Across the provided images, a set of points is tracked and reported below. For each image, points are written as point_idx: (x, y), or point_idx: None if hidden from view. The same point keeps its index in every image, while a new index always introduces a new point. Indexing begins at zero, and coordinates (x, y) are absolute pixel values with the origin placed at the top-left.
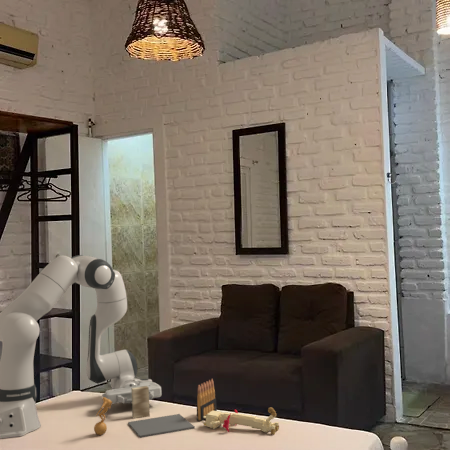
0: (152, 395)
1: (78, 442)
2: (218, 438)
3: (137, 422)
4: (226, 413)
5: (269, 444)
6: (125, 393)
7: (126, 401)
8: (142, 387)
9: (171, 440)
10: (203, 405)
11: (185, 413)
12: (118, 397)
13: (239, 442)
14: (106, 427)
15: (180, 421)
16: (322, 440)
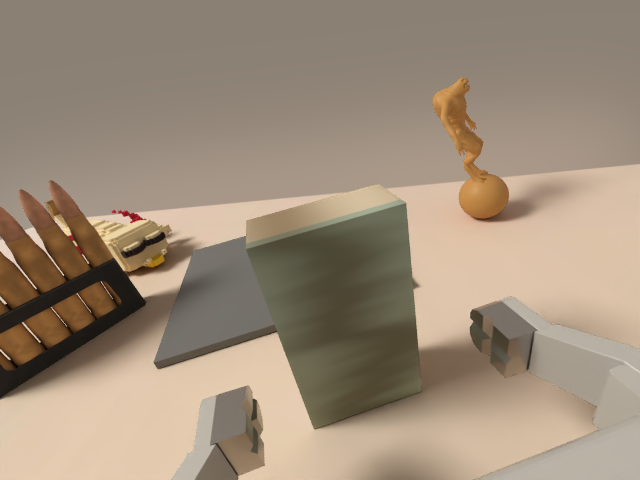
0: (214, 400)
1: (520, 184)
2: (187, 222)
3: None
4: (109, 223)
5: (138, 213)
6: (595, 434)
7: (475, 327)
8: (296, 216)
9: (276, 210)
10: (90, 265)
11: (106, 403)
12: (626, 355)
13: (169, 214)
14: (459, 196)
15: (205, 281)
16: None
